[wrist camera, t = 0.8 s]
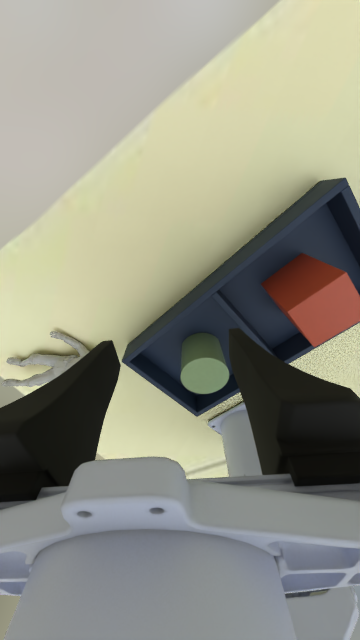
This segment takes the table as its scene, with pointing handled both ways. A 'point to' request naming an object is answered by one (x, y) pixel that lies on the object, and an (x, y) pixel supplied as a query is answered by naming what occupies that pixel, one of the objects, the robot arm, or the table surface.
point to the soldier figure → (48, 363)
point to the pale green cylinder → (203, 364)
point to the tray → (252, 293)
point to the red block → (315, 297)
